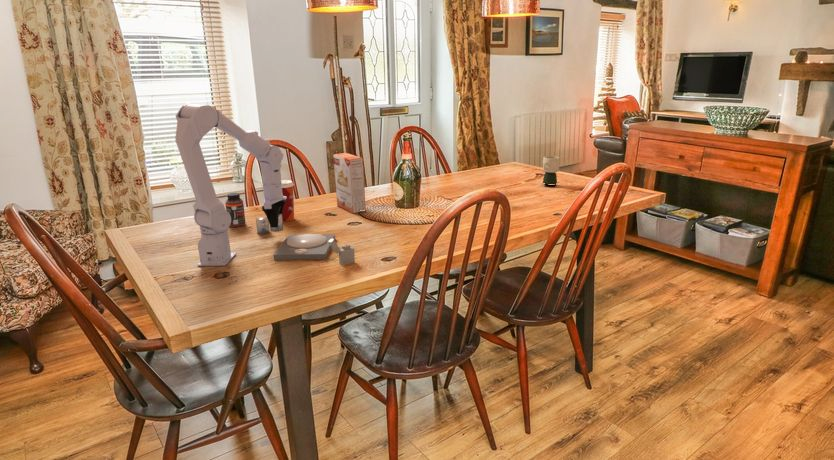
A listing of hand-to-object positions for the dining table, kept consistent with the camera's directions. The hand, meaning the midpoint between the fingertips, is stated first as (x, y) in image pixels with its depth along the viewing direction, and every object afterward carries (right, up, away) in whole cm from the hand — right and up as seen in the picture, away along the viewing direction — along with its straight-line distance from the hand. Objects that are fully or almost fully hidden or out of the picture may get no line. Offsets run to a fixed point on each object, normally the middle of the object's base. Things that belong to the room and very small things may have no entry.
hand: (276, 225), depth 166 cm
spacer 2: (0, -2, +1) cm, 2 cm away
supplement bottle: (-19, 0, +18) cm, 26 cm away
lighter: (+24, -11, -19) cm, 33 cm away
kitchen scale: (+11, -7, -7) cm, 15 cm away
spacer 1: (-7, -2, +9) cm, 12 cm away
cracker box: (+19, +6, +36) cm, 41 cm away
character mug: (+105, +18, +67) cm, 126 cm away
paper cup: (-3, +2, +24) cm, 24 cm away
